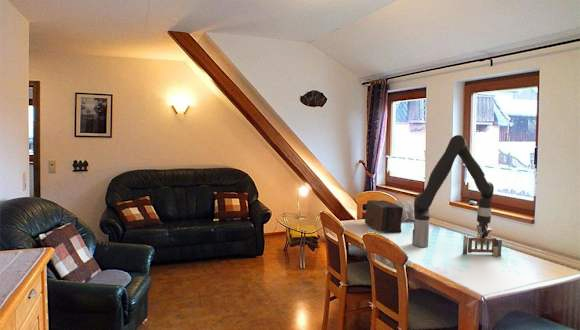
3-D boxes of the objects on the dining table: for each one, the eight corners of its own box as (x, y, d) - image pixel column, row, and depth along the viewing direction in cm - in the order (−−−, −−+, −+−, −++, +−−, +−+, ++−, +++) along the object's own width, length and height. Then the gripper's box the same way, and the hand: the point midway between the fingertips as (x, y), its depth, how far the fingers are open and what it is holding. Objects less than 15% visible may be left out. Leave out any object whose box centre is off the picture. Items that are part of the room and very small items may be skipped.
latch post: (493, 256, 246) (494, 240, 245) (490, 254, 250) (491, 238, 249) (502, 256, 245) (503, 240, 245) (499, 254, 250) (500, 239, 249)
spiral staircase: (391, 224, 341) (419, 222, 346) (400, 219, 325) (429, 217, 330) (387, 203, 347) (415, 201, 352) (395, 197, 331) (424, 195, 336)
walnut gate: (468, 252, 248) (469, 238, 247) (467, 252, 250) (468, 237, 249) (495, 253, 248) (496, 238, 248) (494, 252, 250) (495, 237, 249)
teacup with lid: (494, 243, 275) (495, 226, 274) (481, 243, 274) (482, 226, 273) (483, 238, 287) (484, 222, 286) (471, 238, 285) (472, 222, 284)
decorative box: (383, 224, 327) (360, 223, 321) (387, 199, 326) (364, 197, 320) (404, 235, 298) (380, 233, 292) (408, 207, 297) (384, 205, 291)
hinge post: (463, 254, 248) (464, 236, 247) (462, 253, 250) (463, 235, 249) (467, 254, 248) (468, 236, 247) (466, 253, 250) (467, 235, 249)
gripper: (473, 212, 257) (471, 239, 259) (482, 216, 244) (480, 245, 245) (485, 212, 257) (483, 239, 258) (495, 217, 244) (493, 245, 245)
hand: (482, 242), depth 252 cm, fingers closed
